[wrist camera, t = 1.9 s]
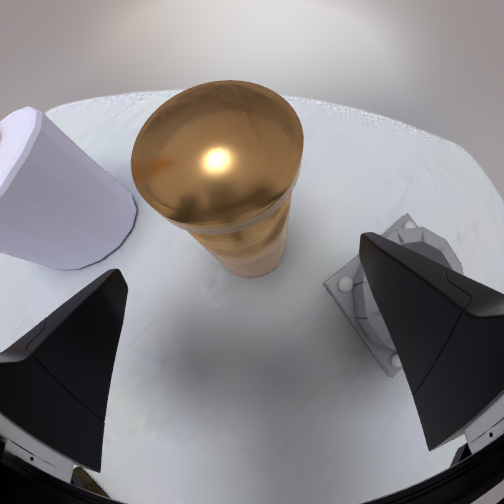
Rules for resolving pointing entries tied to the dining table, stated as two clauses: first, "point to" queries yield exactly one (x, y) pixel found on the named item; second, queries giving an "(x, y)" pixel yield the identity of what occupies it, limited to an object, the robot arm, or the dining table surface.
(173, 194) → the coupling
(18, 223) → the soap bottle
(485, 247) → the dining table surface
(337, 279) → the socket
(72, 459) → the robot arm
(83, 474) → the hand tool
